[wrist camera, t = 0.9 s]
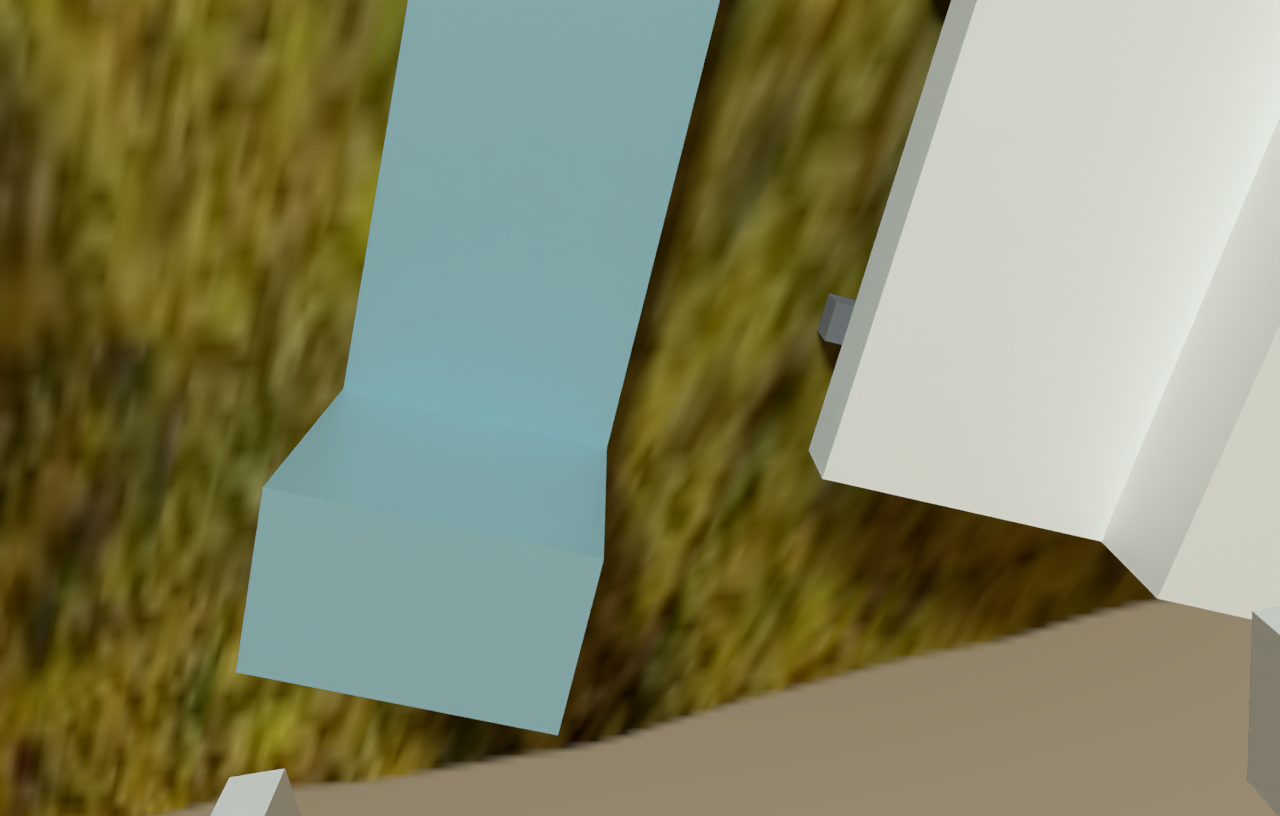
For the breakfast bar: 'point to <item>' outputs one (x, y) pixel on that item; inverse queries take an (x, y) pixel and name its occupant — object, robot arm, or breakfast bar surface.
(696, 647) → the breakfast bar surface
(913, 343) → the shelf
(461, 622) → the light blue l-bracket
